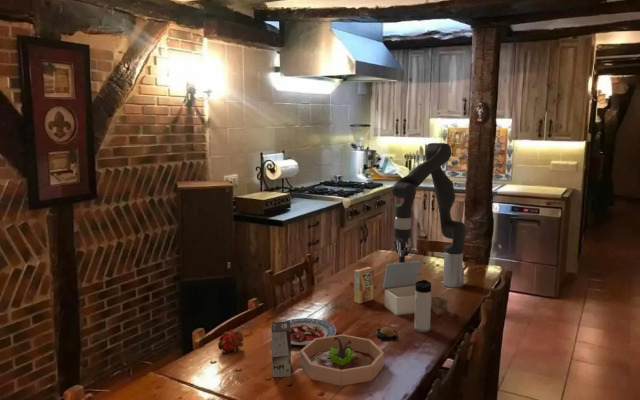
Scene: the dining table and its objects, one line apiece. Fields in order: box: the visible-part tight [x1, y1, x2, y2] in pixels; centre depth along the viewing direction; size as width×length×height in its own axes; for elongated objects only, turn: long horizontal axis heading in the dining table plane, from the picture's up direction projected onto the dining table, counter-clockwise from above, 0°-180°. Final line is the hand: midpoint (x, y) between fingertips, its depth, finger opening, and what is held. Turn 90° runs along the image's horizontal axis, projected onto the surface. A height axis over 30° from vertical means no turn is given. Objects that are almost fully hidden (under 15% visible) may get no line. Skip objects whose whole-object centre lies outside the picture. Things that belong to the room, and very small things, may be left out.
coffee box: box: [271, 320, 292, 378], centre depth 181 cm, size 9×6×16 cm
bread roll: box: [375, 326, 399, 342], centre depth 211 cm, size 11×8×4 cm
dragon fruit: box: [217, 329, 245, 354], centre depth 198 cm, size 8×8×12 cm
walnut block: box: [431, 295, 449, 315], centre depth 236 cm, size 5×5×6 cm
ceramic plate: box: [270, 317, 337, 346], centre depth 212 cm, size 26×26×3 cm
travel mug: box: [413, 279, 432, 333], centre depth 215 cm, size 6×7×20 cm
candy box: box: [353, 266, 374, 304], centre depth 249 cm, size 9×4×15 cm, turn 129°
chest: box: [384, 286, 416, 316], centre depth 239 cm, size 16×12×8 cm
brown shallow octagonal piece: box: [300, 333, 385, 387], centre depth 186 cm, size 27×27×5 cm
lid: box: [382, 260, 422, 290], centre depth 242 cm, size 17×13×1 cm
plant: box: [311, 337, 373, 370], centre depth 184 cm, size 20×20×11 cm
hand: (401, 264), depth 242 cm, fingers closed
